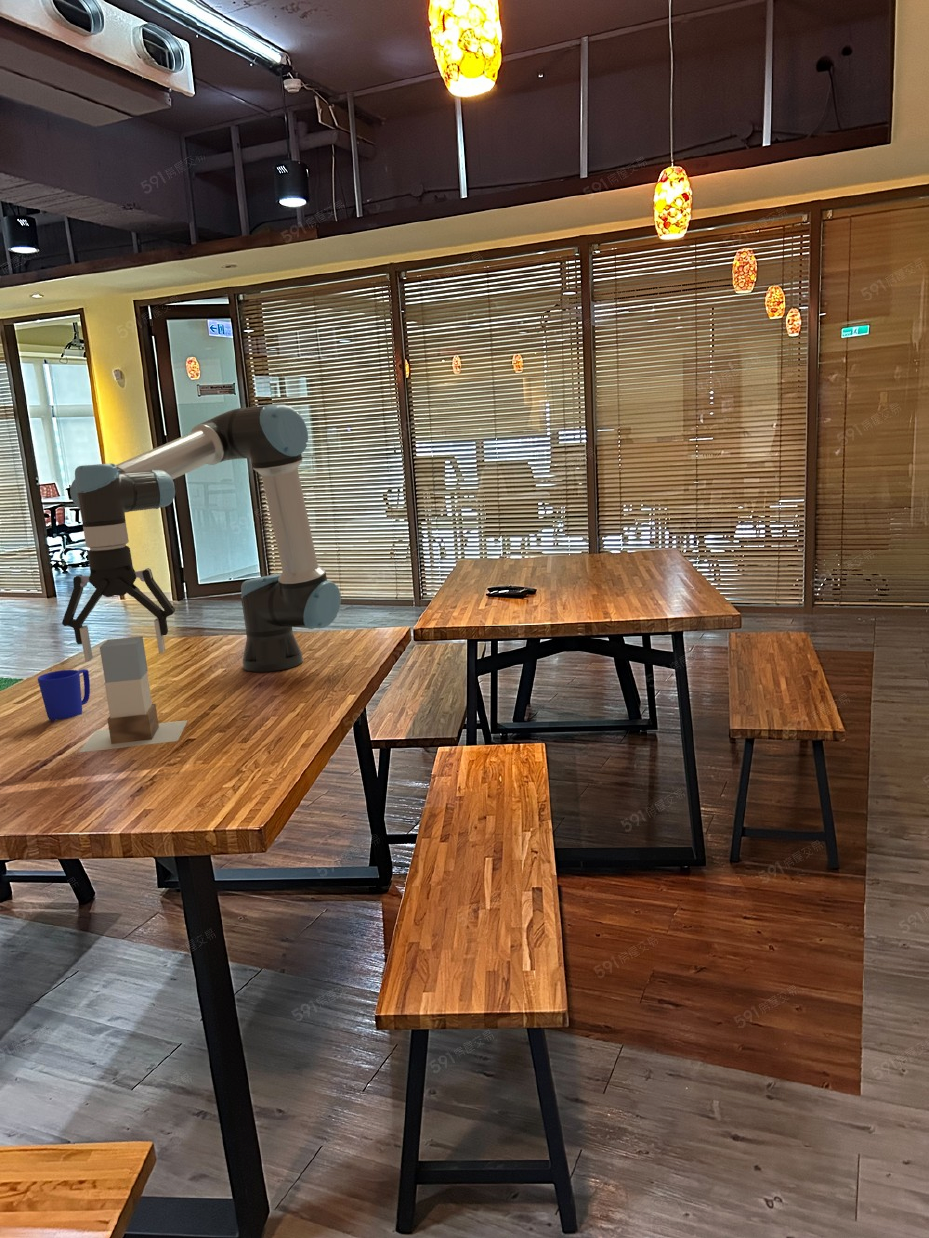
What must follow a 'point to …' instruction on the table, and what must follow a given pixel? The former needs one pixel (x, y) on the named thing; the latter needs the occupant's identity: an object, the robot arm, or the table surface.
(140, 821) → the table surface
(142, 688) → the brick
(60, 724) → the table surface
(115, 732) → the base brick
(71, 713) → the mug
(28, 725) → the table surface
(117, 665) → the brick
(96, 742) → the plate
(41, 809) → the table surface
